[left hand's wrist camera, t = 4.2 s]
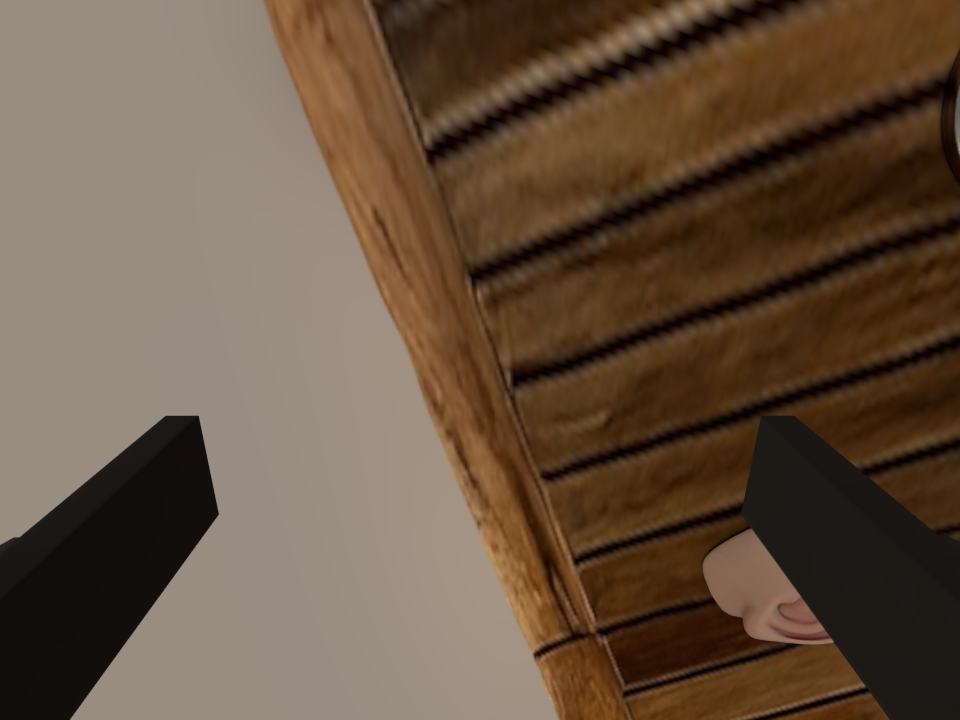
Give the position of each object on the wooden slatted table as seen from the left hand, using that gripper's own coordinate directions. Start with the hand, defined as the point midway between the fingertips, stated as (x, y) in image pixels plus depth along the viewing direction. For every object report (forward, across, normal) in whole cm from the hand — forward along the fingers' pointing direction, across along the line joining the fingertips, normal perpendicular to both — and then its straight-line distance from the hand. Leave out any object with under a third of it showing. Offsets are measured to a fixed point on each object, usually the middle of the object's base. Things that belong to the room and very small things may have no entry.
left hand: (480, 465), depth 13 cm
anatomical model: (+26, +26, -27) cm, 45 cm away
